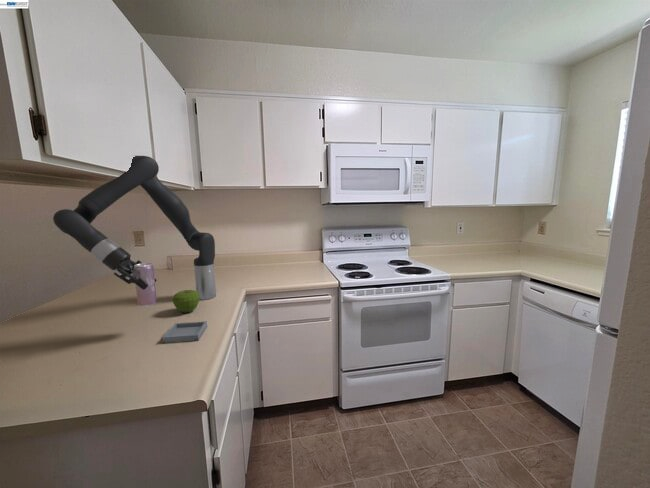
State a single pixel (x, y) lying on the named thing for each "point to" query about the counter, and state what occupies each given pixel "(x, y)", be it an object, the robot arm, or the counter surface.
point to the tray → (185, 332)
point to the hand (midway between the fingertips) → (150, 284)
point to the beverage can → (147, 275)
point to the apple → (186, 300)
